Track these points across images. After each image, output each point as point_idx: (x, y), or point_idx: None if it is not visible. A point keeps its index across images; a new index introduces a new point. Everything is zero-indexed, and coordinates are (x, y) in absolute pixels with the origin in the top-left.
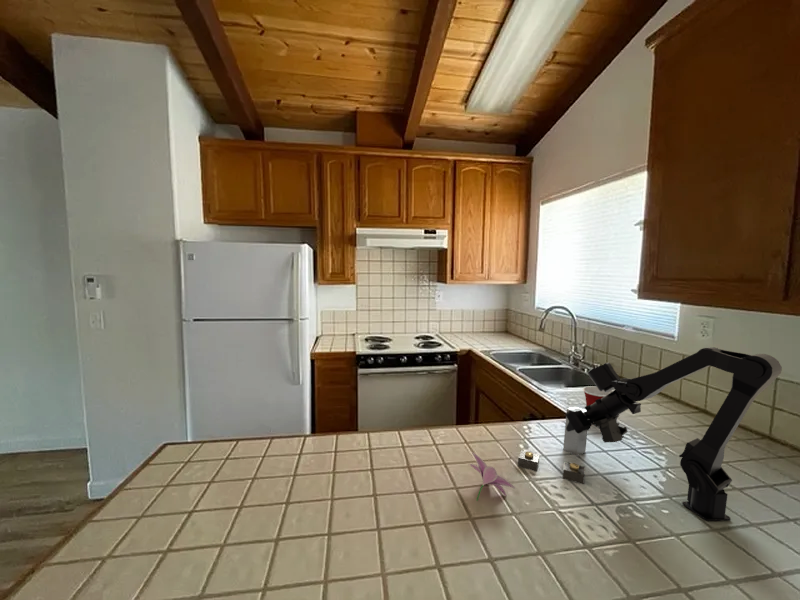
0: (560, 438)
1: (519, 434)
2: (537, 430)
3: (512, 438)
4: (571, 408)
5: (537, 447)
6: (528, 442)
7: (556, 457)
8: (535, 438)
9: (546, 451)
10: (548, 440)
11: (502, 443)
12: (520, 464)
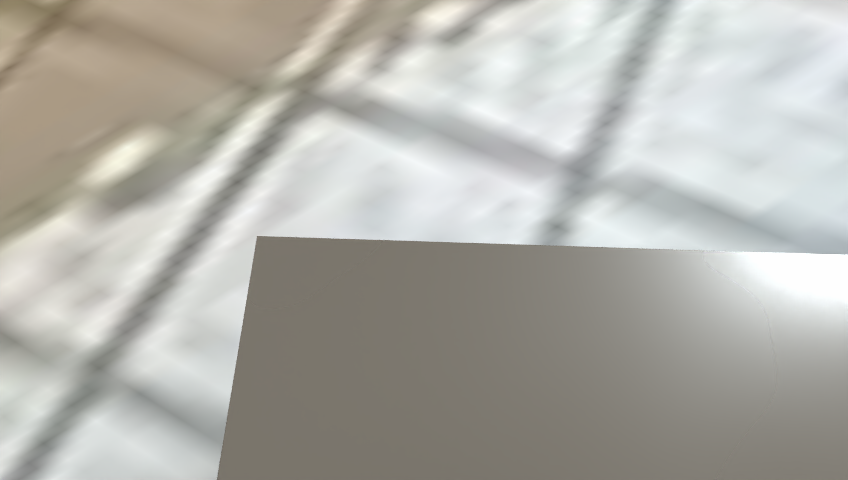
0: (604, 231)
1: (320, 28)
2: (540, 45)
3: (196, 47)
4: (575, 356)
5: (214, 242)
6: (241, 146)
7: (159, 470)
8: (374, 127)
9: (205, 334)
10: (449, 203)
11: (37, 66)
12: None
